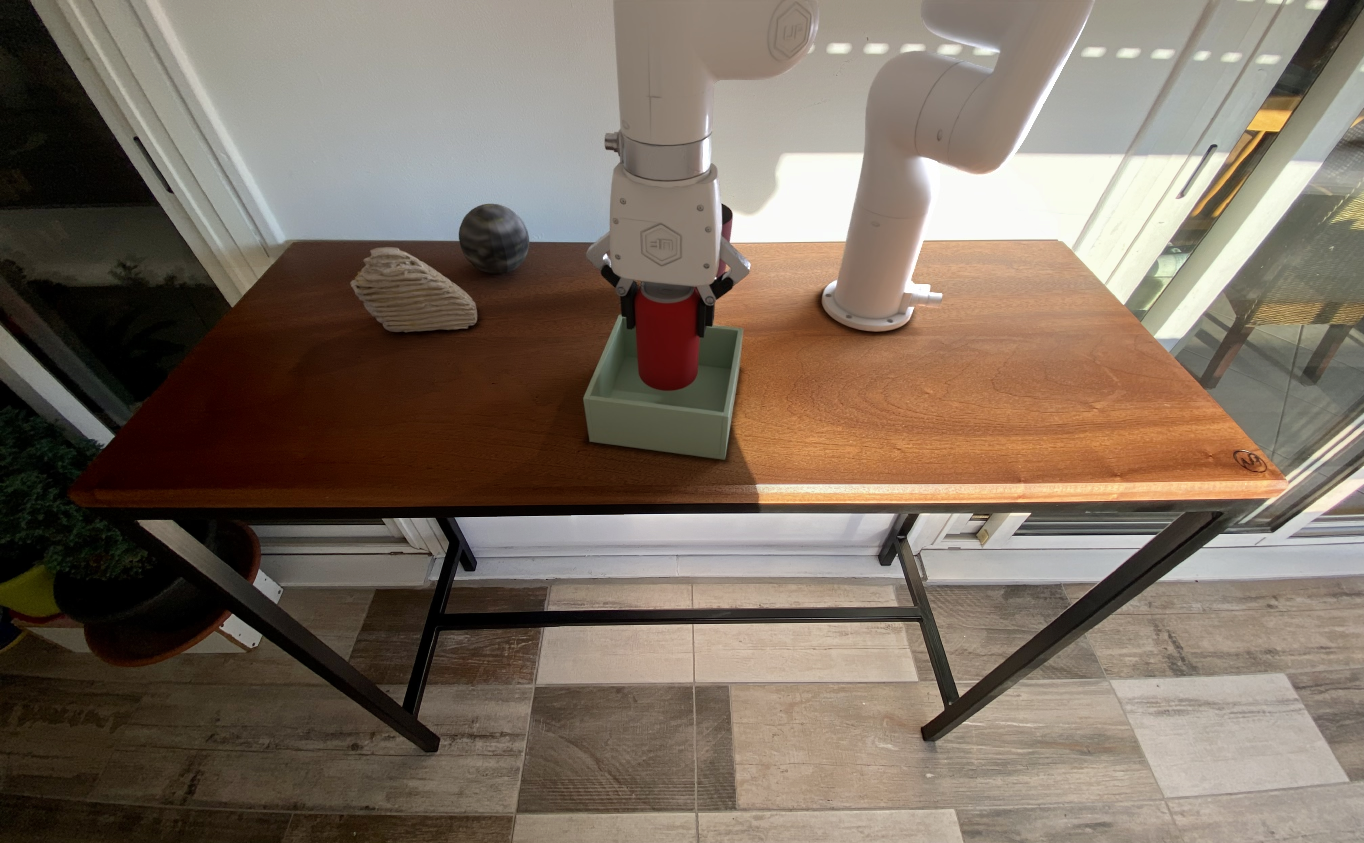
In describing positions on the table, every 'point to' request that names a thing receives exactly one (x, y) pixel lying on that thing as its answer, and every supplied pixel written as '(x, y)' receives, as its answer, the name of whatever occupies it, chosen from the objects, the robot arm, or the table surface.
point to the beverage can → (667, 335)
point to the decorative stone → (494, 238)
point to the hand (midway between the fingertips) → (667, 324)
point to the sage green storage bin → (665, 397)
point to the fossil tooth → (411, 294)
